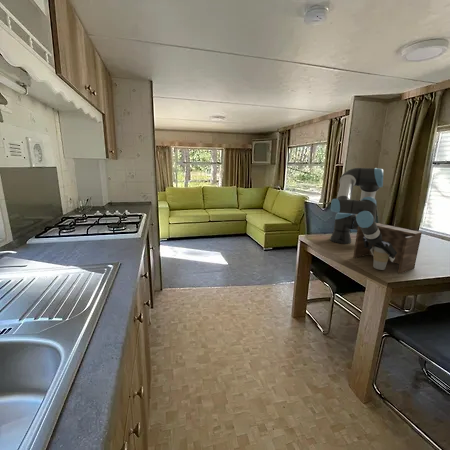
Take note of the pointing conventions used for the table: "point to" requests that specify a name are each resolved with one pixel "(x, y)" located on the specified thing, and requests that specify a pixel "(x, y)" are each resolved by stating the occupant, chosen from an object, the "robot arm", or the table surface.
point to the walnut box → (394, 245)
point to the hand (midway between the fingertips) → (383, 257)
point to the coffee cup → (380, 258)
